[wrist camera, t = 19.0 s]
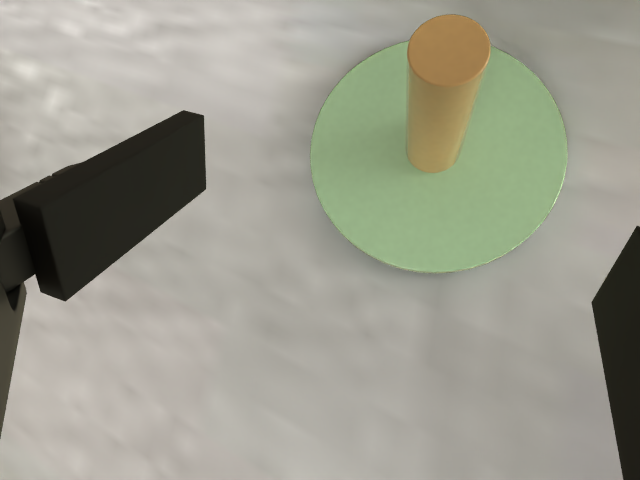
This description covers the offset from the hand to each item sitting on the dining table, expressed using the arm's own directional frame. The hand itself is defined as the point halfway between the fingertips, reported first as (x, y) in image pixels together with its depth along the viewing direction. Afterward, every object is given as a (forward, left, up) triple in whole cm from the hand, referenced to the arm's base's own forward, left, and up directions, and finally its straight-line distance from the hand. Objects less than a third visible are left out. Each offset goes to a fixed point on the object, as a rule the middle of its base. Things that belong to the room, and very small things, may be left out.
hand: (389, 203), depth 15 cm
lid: (+6, -4, -11) cm, 13 cm away
